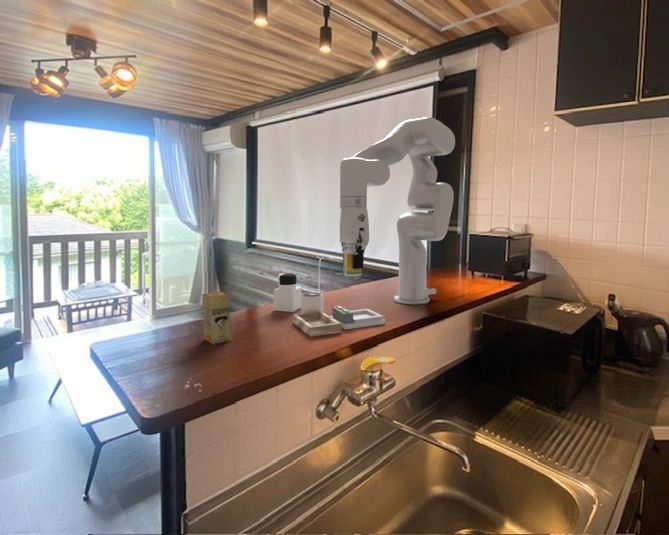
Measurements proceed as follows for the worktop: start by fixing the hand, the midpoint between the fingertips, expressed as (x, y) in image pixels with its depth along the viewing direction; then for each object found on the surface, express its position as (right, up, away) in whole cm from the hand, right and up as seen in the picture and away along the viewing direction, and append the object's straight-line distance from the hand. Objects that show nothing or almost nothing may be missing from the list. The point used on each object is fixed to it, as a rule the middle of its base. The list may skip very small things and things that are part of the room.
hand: (352, 266), depth 115 cm
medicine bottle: (-21, -14, +18) cm, 31 cm away
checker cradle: (+1, -16, +3) cm, 17 cm away
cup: (-12, -16, +9) cm, 22 cm away
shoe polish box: (-35, -19, -12) cm, 42 cm away
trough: (-10, -17, -2) cm, 20 cm away
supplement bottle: (0, -3, 0) cm, 3 cm away
